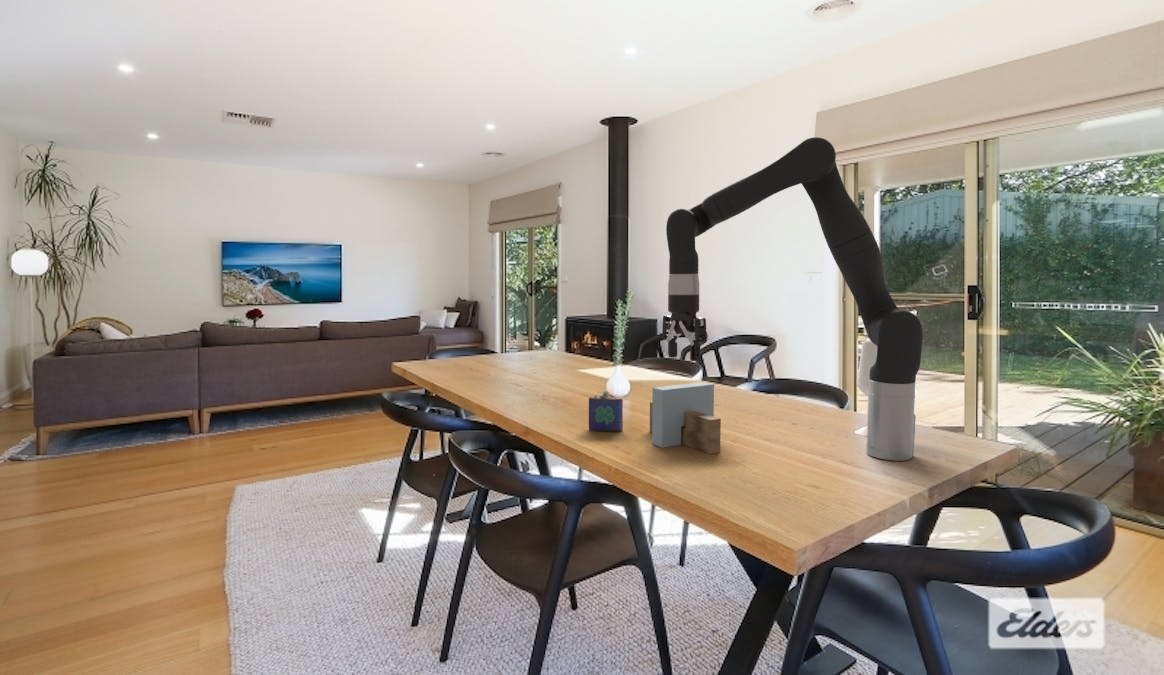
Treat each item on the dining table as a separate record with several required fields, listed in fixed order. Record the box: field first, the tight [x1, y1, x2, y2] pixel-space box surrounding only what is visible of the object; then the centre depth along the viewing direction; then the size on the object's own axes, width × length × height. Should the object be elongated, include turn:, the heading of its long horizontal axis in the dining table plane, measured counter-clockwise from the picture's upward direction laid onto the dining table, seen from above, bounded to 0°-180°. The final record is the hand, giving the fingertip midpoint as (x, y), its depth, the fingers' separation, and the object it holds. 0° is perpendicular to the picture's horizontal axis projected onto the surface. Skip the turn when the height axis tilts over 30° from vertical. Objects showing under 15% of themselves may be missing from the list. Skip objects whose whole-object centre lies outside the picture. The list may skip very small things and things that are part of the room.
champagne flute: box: [854, 340, 877, 437], centre depth 154 cm, size 7×7×24 cm
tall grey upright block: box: [651, 381, 715, 449], centre depth 148 cm, size 4×16×14 cm, turn 119°
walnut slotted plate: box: [649, 401, 722, 455], centre depth 148 cm, size 24×3×8 cm, turn 29°
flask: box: [588, 391, 624, 433], centre depth 159 cm, size 9×3×11 cm, turn 80°
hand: (683, 358), depth 147 cm, fingers open, 8 cm apart
